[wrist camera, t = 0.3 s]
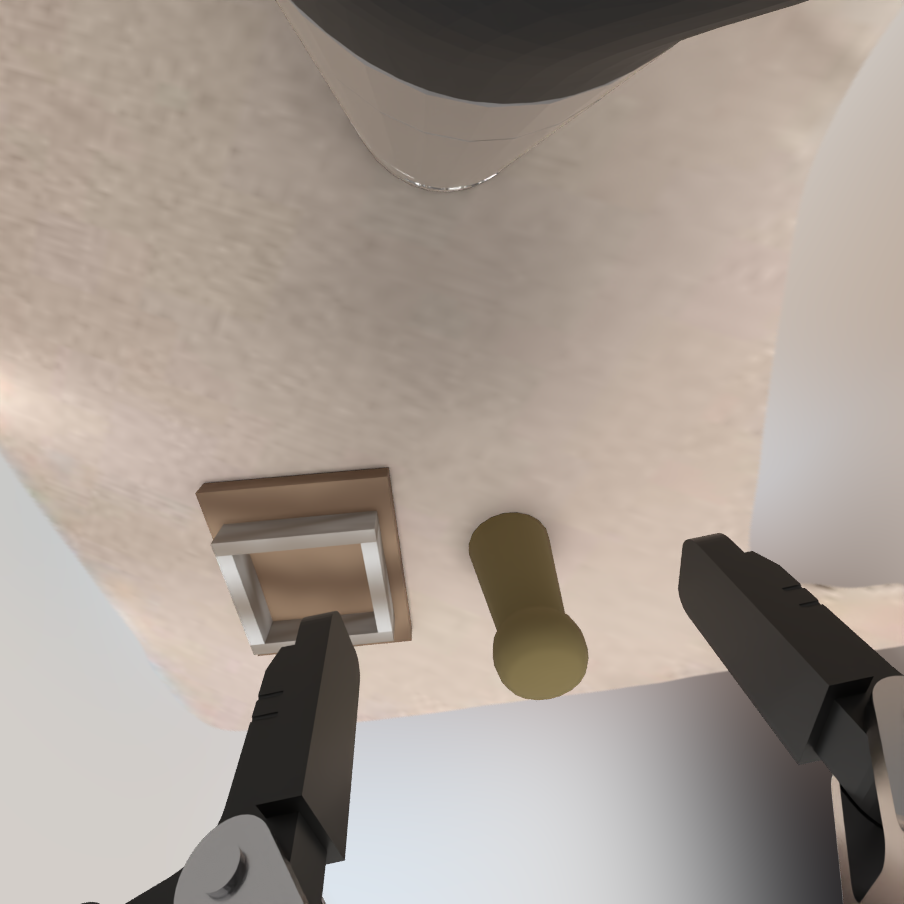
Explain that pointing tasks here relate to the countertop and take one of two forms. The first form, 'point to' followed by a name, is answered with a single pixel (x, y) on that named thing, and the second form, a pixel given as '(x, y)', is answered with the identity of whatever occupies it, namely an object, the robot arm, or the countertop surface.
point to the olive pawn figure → (527, 608)
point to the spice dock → (310, 554)
